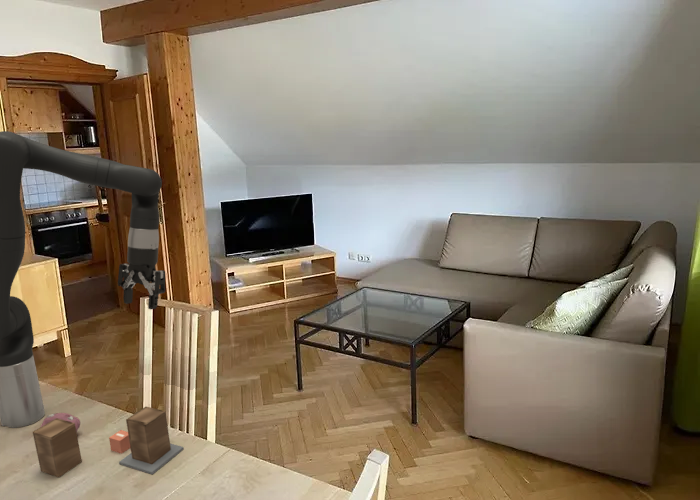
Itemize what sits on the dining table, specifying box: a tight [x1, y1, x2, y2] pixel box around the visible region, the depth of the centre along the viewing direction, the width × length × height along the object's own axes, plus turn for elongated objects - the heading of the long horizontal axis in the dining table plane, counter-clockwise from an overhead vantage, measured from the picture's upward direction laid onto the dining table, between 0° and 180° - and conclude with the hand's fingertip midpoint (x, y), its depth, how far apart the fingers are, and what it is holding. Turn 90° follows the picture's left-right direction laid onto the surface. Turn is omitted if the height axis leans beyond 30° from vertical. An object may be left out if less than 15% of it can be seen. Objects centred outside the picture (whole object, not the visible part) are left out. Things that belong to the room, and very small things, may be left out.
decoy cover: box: [32, 418, 83, 478], centre depth 124 cm, size 6×6×10 cm
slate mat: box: [118, 442, 184, 476], centre depth 127 cm, size 10×10×1 cm
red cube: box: [108, 429, 131, 455], centre depth 131 cm, size 4×4×4 cm
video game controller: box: [40, 412, 81, 433], centre depth 137 cm, size 10×5×7 cm, turn 76°
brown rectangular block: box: [125, 406, 171, 464], centre depth 126 cm, size 6×6×10 cm
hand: (140, 306), depth 146 cm, fingers open, 8 cm apart
